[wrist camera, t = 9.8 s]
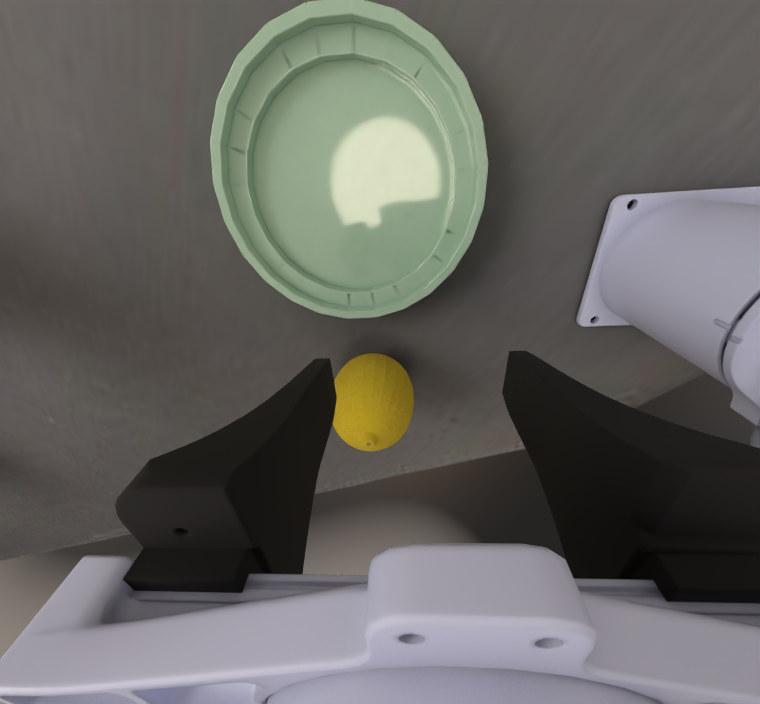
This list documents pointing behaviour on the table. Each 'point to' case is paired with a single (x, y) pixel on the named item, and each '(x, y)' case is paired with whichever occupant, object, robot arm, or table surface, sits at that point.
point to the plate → (349, 158)
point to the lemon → (372, 402)
